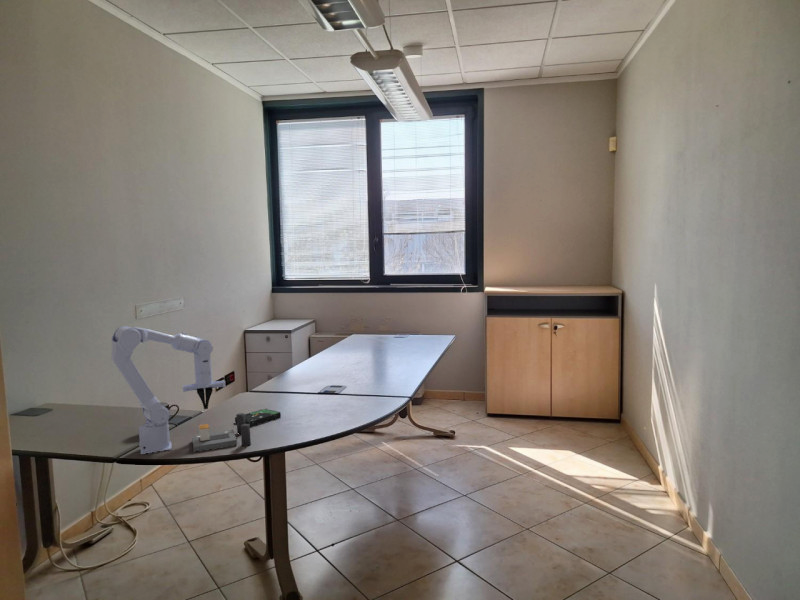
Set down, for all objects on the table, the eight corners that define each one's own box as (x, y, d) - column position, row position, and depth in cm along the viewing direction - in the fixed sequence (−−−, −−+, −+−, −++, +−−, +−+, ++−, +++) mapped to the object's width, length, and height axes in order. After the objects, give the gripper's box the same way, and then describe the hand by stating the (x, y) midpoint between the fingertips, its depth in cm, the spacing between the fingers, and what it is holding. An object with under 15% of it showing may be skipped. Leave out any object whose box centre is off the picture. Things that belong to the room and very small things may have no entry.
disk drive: (250, 429, 205) (281, 418, 216) (249, 422, 205) (281, 411, 216) (234, 424, 212) (265, 414, 223) (234, 417, 211) (265, 407, 223)
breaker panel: (193, 452, 181) (193, 446, 180) (192, 441, 192) (192, 435, 192) (237, 445, 186) (236, 439, 186) (233, 434, 197) (233, 429, 197)
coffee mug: (144, 435, 200) (142, 409, 199) (148, 428, 208) (146, 403, 207) (178, 431, 203) (176, 405, 202) (180, 424, 211) (178, 400, 210)
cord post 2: (242, 447, 184) (241, 427, 184) (241, 444, 187) (240, 424, 186) (251, 445, 186) (250, 425, 185) (250, 442, 188) (249, 423, 188)
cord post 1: (237, 434, 197) (236, 416, 197) (236, 432, 200) (235, 413, 199) (246, 433, 198) (245, 414, 198) (245, 431, 201) (244, 412, 200)
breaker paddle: (200, 440, 185) (199, 428, 185) (200, 437, 189) (199, 425, 188) (209, 439, 186) (208, 427, 186) (209, 435, 190) (208, 423, 190)
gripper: (181, 376, 188) (184, 414, 189) (225, 371, 194) (227, 408, 195) (181, 372, 195) (184, 408, 196) (223, 367, 200) (226, 403, 201)
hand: (205, 408), depth 196 cm, fingers closed
